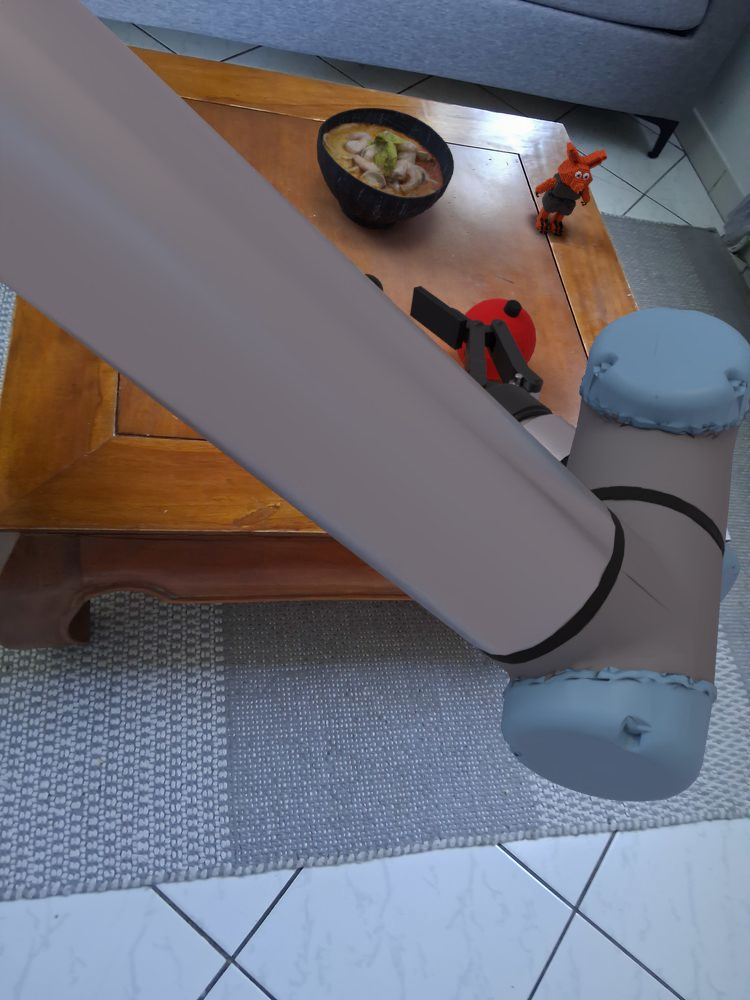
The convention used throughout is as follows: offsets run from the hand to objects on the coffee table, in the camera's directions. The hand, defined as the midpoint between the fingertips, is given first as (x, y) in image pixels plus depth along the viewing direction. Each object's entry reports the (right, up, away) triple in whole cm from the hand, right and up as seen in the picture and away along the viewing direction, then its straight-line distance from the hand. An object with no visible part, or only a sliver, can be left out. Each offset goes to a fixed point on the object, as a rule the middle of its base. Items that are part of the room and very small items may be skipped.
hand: (350, 315), depth 64 cm
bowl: (+1, +23, +36) cm, 42 cm away
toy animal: (+27, +22, +43) cm, 56 cm away
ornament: (+15, 0, +25) cm, 29 cm away
